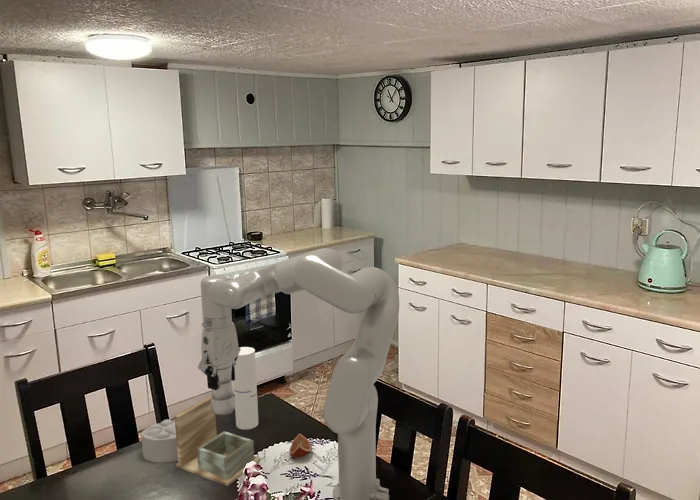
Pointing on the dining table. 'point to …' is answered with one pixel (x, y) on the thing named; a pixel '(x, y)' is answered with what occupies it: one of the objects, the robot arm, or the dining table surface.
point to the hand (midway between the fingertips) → (221, 383)
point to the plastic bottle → (223, 391)
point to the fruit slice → (300, 447)
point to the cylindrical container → (246, 389)
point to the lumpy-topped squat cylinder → (160, 442)
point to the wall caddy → (210, 446)
